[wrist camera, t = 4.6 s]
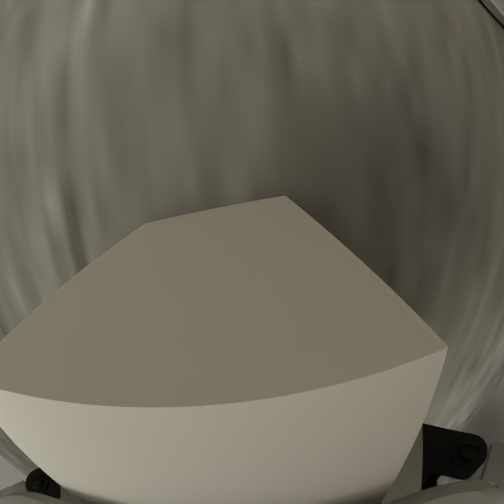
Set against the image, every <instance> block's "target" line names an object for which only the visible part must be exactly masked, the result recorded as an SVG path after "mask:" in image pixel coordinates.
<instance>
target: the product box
mask: <svg viewBox="0 0 504 504" xmlns="http://www.w3.org/2000/svg"><path fill="white" fill-rule="evenodd" d="M447 350H448V346H447V345H446V344H445V343H444V342H443V341H442V340H441V338H440V337H439V336H438V335H437V334H436V333H435V332H434V331H433V330H432V329H431V328H430V327H429V326H428V325H427V324H426V323H425V322H424V321H423V320H422V319H421V318H420V317H419V316H418V315H417V314H416V313H415V312H414V311H413V310H412V309H411V308H410V307H409V306H408V305H407V304H406V303H405V302H404V301H403V300H402V299H401V298H400V297H399V296H398V295H397V294H396V293H395V292H394V291H393V290H392V289H391V288H390V287H389V286H388V285H387V284H386V283H385V282H384V281H383V280H382V279H381V278H379V277H378V276H377V275H376V274H375V273H374V272H373V271H372V270H371V269H370V268H369V267H368V266H367V265H365V264H364V263H363V262H362V261H361V260H360V259H359V258H358V257H357V256H356V255H354V254H353V253H352V252H351V251H350V250H349V249H348V248H347V247H346V246H344V245H343V244H342V243H341V242H340V241H339V240H338V239H336V238H335V237H334V236H333V235H332V234H331V233H330V232H328V231H327V230H326V229H325V228H324V227H323V226H321V225H320V224H319V223H318V222H317V221H316V220H314V219H313V218H312V217H311V216H310V215H308V214H307V213H306V212H305V211H304V210H302V209H301V208H300V207H299V206H298V205H296V204H295V203H294V202H293V201H291V200H290V199H289V198H288V197H287V196H279V197H273V198H268V199H262V200H256V201H251V202H245V203H240V204H234V205H229V206H224V207H219V208H214V209H209V210H204V211H199V212H194V213H190V214H185V215H180V216H176V217H171V218H167V219H162V220H158V221H153V222H149V223H145V224H144V225H142V226H141V227H139V228H138V229H137V230H135V231H134V232H132V233H131V234H129V235H128V236H127V237H125V238H124V239H122V240H121V241H120V242H118V243H117V244H116V245H114V246H113V247H112V248H110V249H109V250H107V251H106V252H105V253H103V254H102V255H101V256H99V257H98V258H97V259H96V260H94V261H93V262H92V263H90V264H89V265H88V266H86V267H85V268H84V269H83V270H81V271H80V272H79V273H78V274H76V275H75V276H74V277H73V278H71V279H70V280H69V281H68V282H66V283H65V284H64V285H63V286H62V287H60V288H59V289H58V290H57V291H56V292H54V293H53V294H52V295H51V296H50V297H49V298H47V299H46V300H45V301H44V302H43V303H42V304H40V305H39V306H38V307H37V308H36V309H35V310H34V311H33V312H31V313H30V314H29V315H28V316H27V317H26V318H25V319H24V320H23V321H22V322H20V323H19V324H18V325H17V326H16V327H15V328H14V329H13V330H12V331H11V332H10V333H9V334H8V335H7V336H6V337H5V338H4V339H3V340H2V341H1V342H0V427H1V428H2V429H3V430H4V432H5V433H6V434H7V435H8V436H9V437H10V438H11V439H12V440H13V442H14V443H15V444H16V445H17V446H18V447H19V448H20V449H21V450H22V451H23V452H24V453H25V454H26V455H27V456H28V457H29V458H30V459H31V460H32V461H33V462H34V463H35V464H36V465H37V466H38V467H40V468H41V469H42V470H43V471H44V472H45V473H46V474H47V475H49V476H50V477H51V478H52V479H53V480H54V481H56V482H57V483H58V484H59V485H61V486H62V487H63V488H64V489H66V490H67V491H68V492H69V493H71V494H72V495H73V496H75V497H76V498H77V499H79V500H80V501H82V502H83V503H84V504H379V503H381V502H382V500H383V499H384V497H385V496H386V494H387V492H388V491H389V489H390V487H391V486H392V484H393V482H394V481H395V479H396V477H397V475H398V473H399V472H400V470H401V468H402V466H403V464H404V462H405V460H406V458H407V457H408V455H409V453H410V450H411V448H412V446H413V444H414V442H415V440H416V438H417V436H418V433H419V431H420V429H421V426H422V424H423V422H424V419H425V417H426V414H427V412H428V409H429V407H430V404H431V401H432V399H433V396H434V393H435V390H436V387H437V384H438V381H439V378H440V375H441V371H442V368H443V365H444V361H445V358H446V354H447Z"/></svg>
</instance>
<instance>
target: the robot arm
mask: <svg viewBox="0 0 504 504" xmlns="http://www.w3.org/2000/svg"><path fill="white" fill-rule="evenodd" d="M481 1H482V2H483V4H484V5H485V6H486V7H487V8H488V9H489V10H490V11H491V13H492V14H493V15H494V16H495V17H496V18H497V19H498V20H499V21H500V22H501V23H502V24H503V25H504V0H481ZM0 504H84V503H83V502H82V501H80V500H79V499H77V498H76V497H75V496H73V495H72V494H71V493H69V492H68V491H67V490H66V489H64V488H63V487H62V486H61V485H59V484H58V483H57V482H56V481H54V480H53V479H52V478H51V477H50V476H49V475H47V474H46V473H45V472H44V471H43V470H42V469H41V468H38V469H35V470H34V471H32V472H31V473H30V474H29V475H28V477H27V479H26V482H25V481H22V482H19V483H17V484H14V485H12V486H10V487H7V488H5V489H3V490H0ZM379 504H504V444H502V443H495V442H493V443H492V444H491V445H487V444H486V443H485V441H484V440H483V439H482V438H481V437H479V436H477V435H474V434H470V433H464V432H459V431H454V430H450V429H445V428H441V427H436V426H432V425H428V424H424V423H423V424H422V426H421V429H420V431H419V433H418V436H417V438H416V440H415V442H414V444H413V446H412V448H411V450H410V453H409V455H408V457H407V458H406V460H405V462H404V464H403V466H402V468H401V470H400V472H399V473H398V475H397V477H396V479H395V481H394V482H393V484H392V486H391V487H390V489H389V491H388V492H387V494H386V496H385V497H384V499H383V500H382V502H381V503H379Z"/></svg>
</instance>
